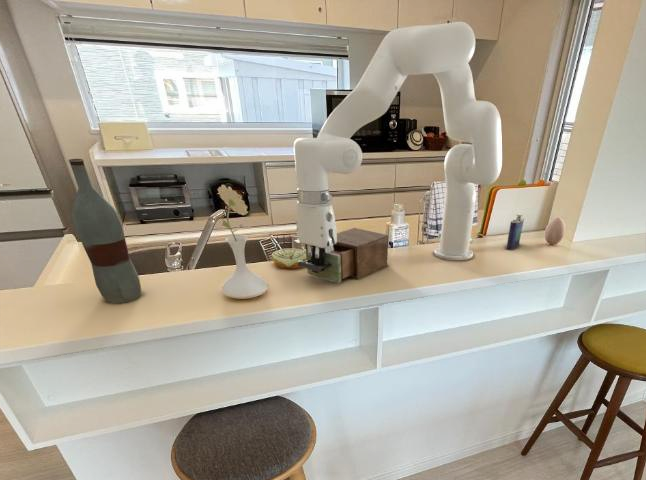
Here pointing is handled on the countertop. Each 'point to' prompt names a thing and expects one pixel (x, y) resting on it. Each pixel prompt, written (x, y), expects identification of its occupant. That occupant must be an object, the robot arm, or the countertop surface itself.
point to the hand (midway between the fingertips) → (318, 271)
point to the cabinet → (365, 250)
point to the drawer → (333, 264)
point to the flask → (515, 233)
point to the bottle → (103, 241)
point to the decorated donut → (288, 257)
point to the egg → (555, 231)
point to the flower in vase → (239, 254)
